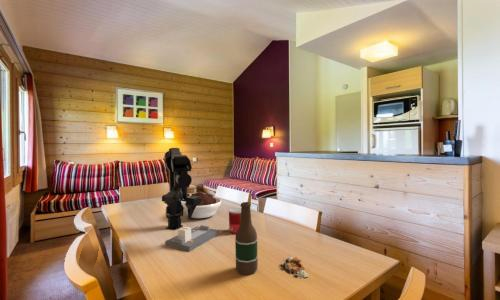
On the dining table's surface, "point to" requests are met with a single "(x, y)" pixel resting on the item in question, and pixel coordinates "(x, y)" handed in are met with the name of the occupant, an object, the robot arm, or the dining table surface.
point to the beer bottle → (246, 243)
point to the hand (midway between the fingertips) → (181, 217)
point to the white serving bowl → (204, 205)
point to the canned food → (234, 220)
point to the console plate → (193, 238)
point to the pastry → (295, 267)
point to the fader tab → (184, 233)
